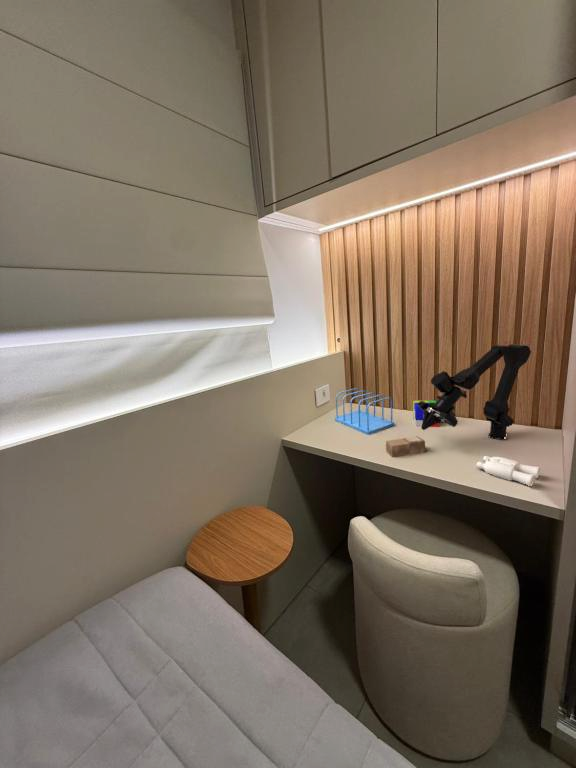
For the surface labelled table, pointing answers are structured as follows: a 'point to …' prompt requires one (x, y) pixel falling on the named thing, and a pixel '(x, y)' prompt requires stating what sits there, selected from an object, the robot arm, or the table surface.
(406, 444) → the walnut block
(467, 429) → the table surface
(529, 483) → the binoculars
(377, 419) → the file sorter
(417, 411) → the puzzle toy
